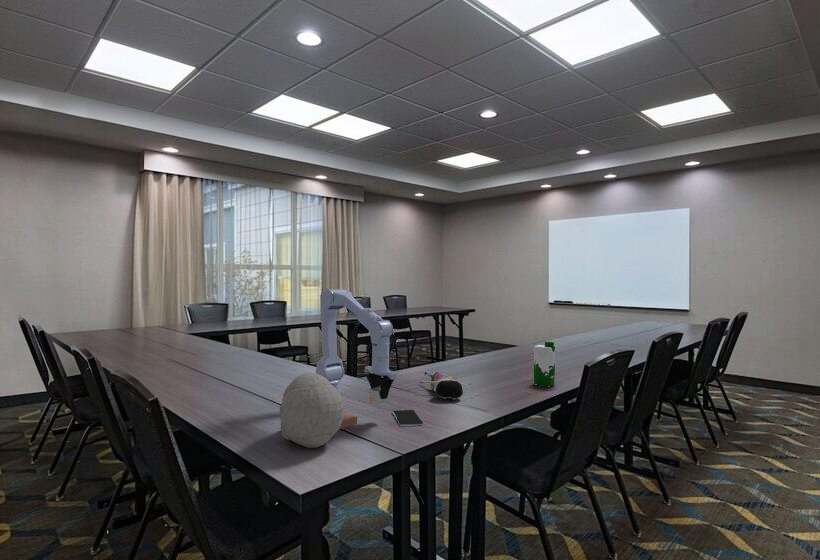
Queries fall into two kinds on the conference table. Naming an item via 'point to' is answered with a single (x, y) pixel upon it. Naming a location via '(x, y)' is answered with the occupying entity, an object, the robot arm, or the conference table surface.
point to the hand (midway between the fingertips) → (379, 397)
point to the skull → (311, 410)
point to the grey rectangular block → (378, 396)
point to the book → (348, 420)
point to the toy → (445, 386)
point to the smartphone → (407, 418)
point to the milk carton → (544, 364)
